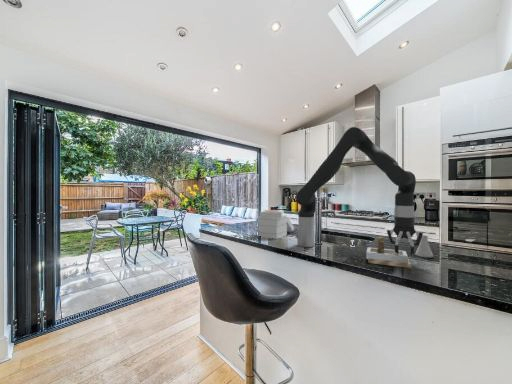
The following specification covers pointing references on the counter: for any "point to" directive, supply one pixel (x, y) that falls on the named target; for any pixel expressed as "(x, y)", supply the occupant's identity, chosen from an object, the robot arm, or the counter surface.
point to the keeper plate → (381, 250)
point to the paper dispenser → (273, 224)
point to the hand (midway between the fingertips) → (404, 253)
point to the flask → (424, 248)
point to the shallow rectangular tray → (387, 255)
